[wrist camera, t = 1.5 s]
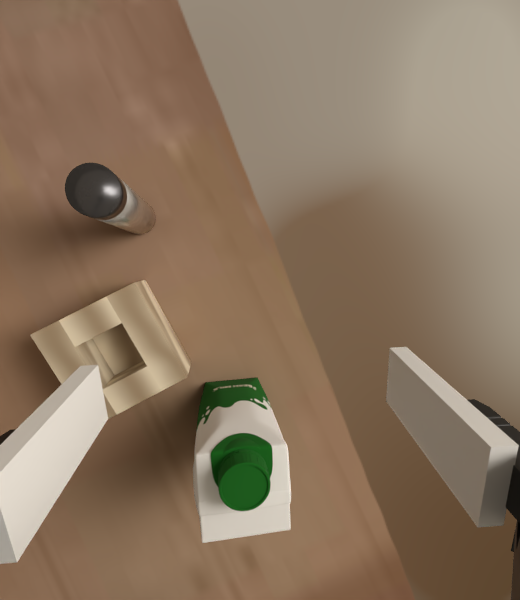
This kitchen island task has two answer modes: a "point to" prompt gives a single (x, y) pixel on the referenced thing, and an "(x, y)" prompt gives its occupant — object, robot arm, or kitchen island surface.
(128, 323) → the birch socket block
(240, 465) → the milk carton
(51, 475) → the robot arm
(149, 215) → the steel peg
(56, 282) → the kitchen island surface
